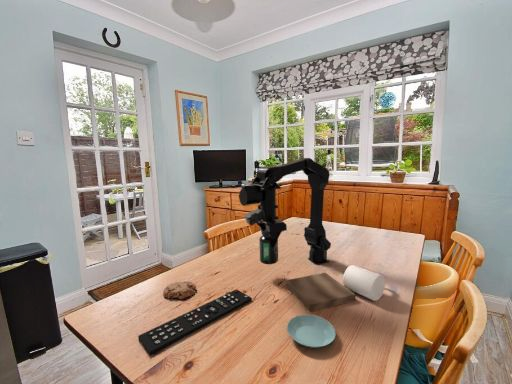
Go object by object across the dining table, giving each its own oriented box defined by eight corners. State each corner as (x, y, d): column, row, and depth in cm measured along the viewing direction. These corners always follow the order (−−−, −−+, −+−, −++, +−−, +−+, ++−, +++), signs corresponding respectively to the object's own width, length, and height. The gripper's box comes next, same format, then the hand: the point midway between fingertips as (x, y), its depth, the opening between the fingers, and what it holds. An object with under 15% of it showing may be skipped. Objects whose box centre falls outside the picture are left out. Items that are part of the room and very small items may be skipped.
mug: (371, 305, 77) (372, 279, 76) (342, 291, 85) (342, 268, 84) (390, 291, 84) (392, 268, 83) (362, 280, 92) (363, 259, 91)
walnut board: (325, 277, 94) (325, 272, 94) (355, 300, 79) (355, 294, 79) (285, 285, 89) (285, 280, 89) (309, 311, 74) (309, 305, 74)
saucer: (326, 321, 70) (326, 313, 70) (342, 353, 59) (343, 344, 58) (283, 322, 70) (283, 315, 70) (291, 356, 58) (291, 347, 58)
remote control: (252, 302, 81) (252, 296, 80) (150, 358, 59) (149, 350, 59) (237, 293, 86) (237, 287, 86) (138, 341, 65) (138, 334, 65)
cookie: (162, 289, 89) (161, 281, 89) (193, 283, 93) (192, 275, 93) (164, 304, 80) (163, 295, 80) (198, 296, 84) (198, 288, 84)
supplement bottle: (268, 266, 90) (267, 233, 89) (256, 260, 95) (255, 229, 94) (282, 261, 95) (281, 229, 93) (269, 255, 100) (269, 225, 98)
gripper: (239, 199, 98) (240, 239, 100) (254, 209, 80) (256, 256, 83) (266, 197, 101) (267, 235, 104) (287, 205, 84) (287, 251, 86)
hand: (268, 244), depth 94 cm, fingers closed on supplement bottle, 7 cm apart
